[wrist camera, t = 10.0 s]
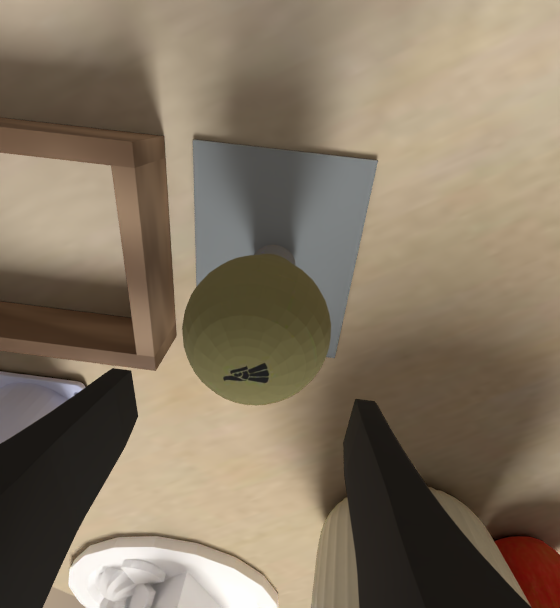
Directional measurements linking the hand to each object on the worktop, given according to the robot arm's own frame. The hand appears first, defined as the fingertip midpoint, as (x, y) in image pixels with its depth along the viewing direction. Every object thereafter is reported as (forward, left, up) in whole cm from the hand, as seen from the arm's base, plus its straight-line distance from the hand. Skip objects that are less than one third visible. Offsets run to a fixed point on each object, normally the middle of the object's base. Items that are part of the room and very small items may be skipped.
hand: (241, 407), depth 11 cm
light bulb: (+1, 0, -10) cm, 10 cm away
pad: (+1, 0, -10) cm, 10 cm away
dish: (-43, +8, -11) cm, 45 cm away
